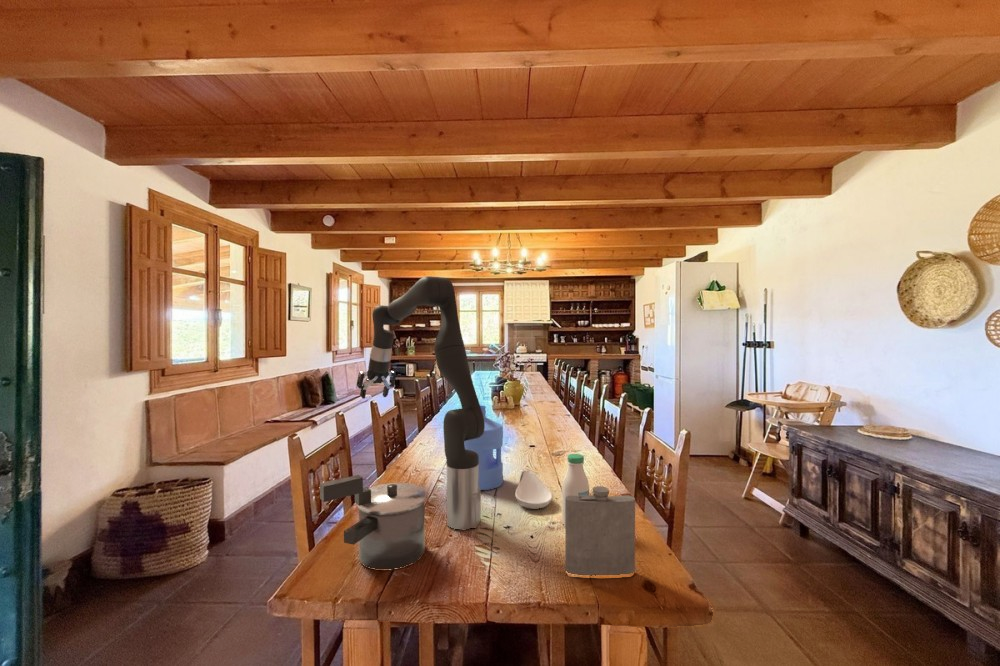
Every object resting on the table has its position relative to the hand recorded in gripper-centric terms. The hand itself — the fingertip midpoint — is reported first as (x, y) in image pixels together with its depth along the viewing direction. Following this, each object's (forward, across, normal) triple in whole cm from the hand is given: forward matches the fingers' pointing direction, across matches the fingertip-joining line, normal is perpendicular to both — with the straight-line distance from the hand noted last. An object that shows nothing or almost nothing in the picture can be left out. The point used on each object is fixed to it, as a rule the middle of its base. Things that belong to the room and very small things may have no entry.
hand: (373, 397), depth 166 cm
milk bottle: (+5, +29, -82) cm, 87 cm away
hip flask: (-1, +14, -101) cm, 102 cm away
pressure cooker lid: (-1, -23, -61) cm, 65 cm away
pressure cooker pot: (+12, -22, -66) cm, 71 cm away
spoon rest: (+12, +32, -61) cm, 70 cm away
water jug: (+18, +28, -41) cm, 52 cm away
